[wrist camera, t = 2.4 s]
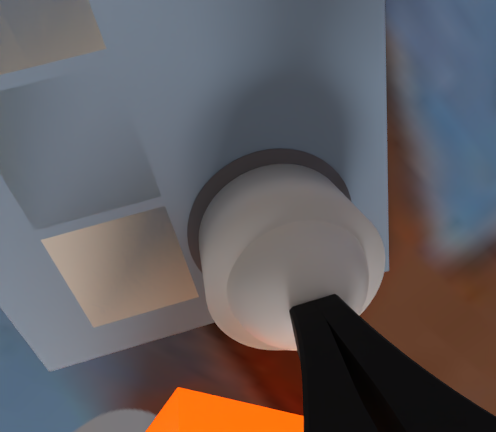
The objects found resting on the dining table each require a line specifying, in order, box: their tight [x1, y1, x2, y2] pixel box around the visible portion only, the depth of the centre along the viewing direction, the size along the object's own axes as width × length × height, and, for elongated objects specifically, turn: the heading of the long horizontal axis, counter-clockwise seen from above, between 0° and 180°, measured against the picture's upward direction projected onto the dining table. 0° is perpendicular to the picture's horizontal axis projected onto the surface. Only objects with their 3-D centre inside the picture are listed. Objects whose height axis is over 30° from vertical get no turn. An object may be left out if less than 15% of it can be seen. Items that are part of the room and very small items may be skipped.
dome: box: [198, 164, 385, 351], centre depth 12 cm, size 6×6×5 cm
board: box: [0, 0, 389, 372], centre depth 11 cm, size 16×22×1 cm
